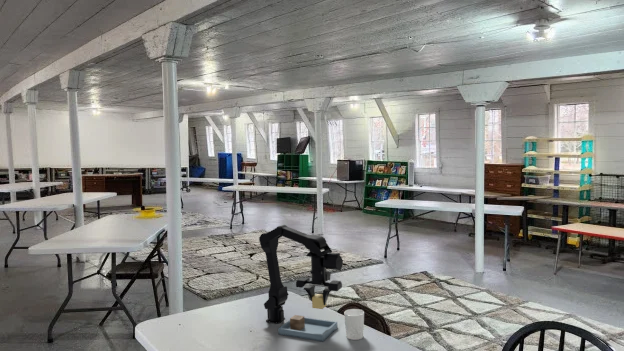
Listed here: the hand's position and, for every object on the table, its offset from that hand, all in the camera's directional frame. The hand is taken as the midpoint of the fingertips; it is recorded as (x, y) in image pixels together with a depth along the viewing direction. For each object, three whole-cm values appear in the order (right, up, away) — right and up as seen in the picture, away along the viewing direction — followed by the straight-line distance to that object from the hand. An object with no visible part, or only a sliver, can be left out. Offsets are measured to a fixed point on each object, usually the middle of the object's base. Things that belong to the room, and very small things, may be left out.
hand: (319, 304), depth 195 cm
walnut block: (-9, -11, +2) cm, 14 cm away
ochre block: (0, -1, 0) cm, 1 cm away
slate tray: (-5, -11, 0) cm, 12 cm away
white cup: (+14, -11, -7) cm, 19 cm away
